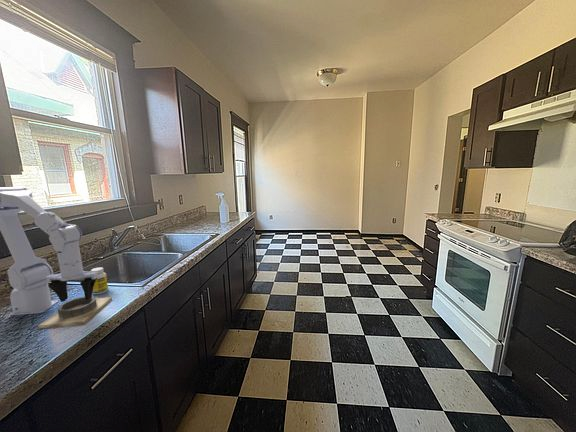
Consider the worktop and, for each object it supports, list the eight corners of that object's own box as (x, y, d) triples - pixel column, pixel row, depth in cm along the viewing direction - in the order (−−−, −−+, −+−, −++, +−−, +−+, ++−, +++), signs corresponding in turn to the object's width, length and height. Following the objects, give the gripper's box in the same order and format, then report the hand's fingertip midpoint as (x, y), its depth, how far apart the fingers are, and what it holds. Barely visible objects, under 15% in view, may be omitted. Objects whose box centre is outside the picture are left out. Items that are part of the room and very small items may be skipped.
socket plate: (38, 328, 77) (36, 318, 76) (74, 302, 93) (72, 293, 92) (84, 324, 79) (82, 314, 78) (112, 299, 94) (110, 291, 94)
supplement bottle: (99, 295, 98) (96, 272, 96) (88, 294, 99) (84, 271, 97) (111, 289, 103) (108, 266, 102) (100, 288, 104) (97, 266, 103)
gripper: (35, 267, 78) (43, 307, 80) (86, 264, 80) (92, 303, 82) (53, 260, 85) (59, 296, 87) (99, 257, 87) (104, 293, 89)
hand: (76, 299), depth 85 cm, fingers open, 7 cm apart
